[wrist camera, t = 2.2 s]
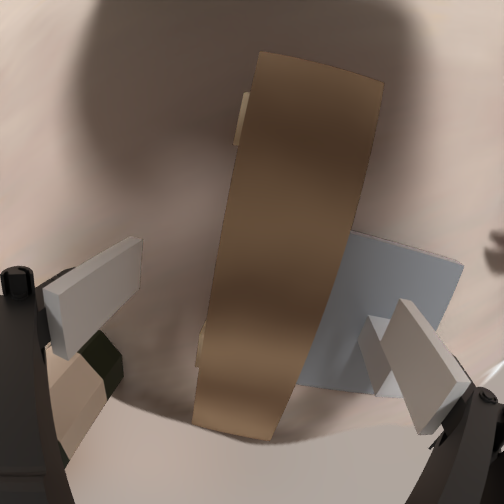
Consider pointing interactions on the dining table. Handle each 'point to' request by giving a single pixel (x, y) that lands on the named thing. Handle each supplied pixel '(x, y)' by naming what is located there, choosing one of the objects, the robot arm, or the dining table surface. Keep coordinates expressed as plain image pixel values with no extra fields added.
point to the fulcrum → (374, 312)
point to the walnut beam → (282, 236)
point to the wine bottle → (81, 389)
